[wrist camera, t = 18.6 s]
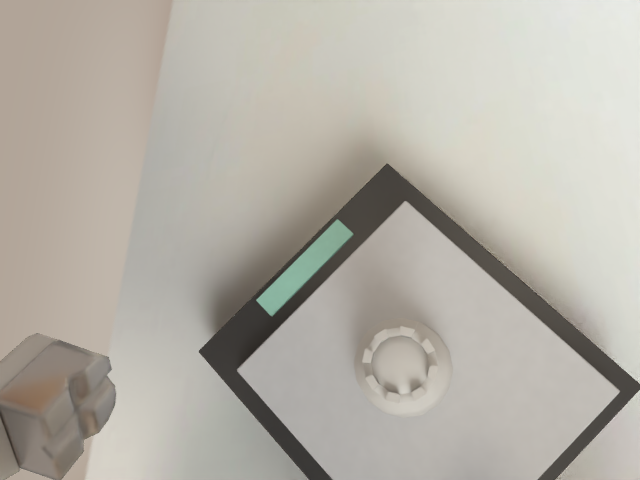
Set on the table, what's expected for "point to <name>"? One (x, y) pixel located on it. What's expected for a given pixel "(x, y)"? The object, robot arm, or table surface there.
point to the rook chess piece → (403, 367)
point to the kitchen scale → (439, 315)
